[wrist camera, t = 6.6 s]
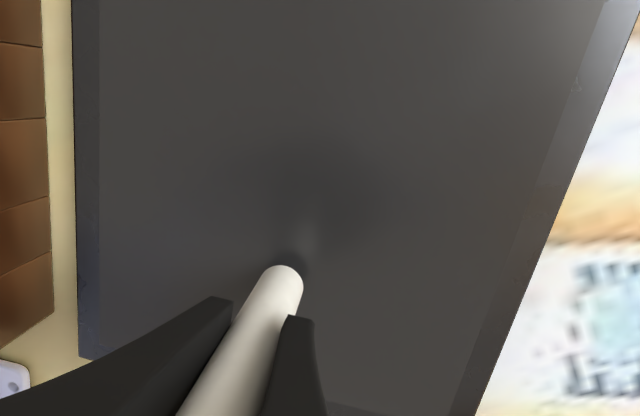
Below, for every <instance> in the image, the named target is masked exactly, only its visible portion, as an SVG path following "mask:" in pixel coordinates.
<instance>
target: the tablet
mask: <svg viewBox="0 0 640 416" xmlns="http://www.w3.org/2000/svg"><path fill="white" fill-rule="evenodd" d="M639 13H640V0H71V23H72V70H73V117H74V164H75V212H76V259H77V306H78V353H79V357H81V358H85V359H89V360H93V361H95V360H97V359H99V358H101V357H103V356H105V355H107V354H109V353H111V352H113V351H115V350H116V349H118V348H120V347H122V346H124V345H126V344H128V343H130V342H132V341H134V340H136V339H138V338H140V337H142V336H143V335H145V334H147V333H149V332H150V331H152V330H154V329H156V328H157V327H159V326H161V325H163V324H164V323H166V322H168V321H169V320H171V319H173V318H174V317H176V316H178V315H179V314H181V313H183V312H184V311H186V310H188V309H189V308H191V307H193V306H194V305H196V304H198V303H199V302H201V301H203V300H205V299H206V298H208V297H210V296H214V297H219V298H223V299H227V300H231V301H234V303H233V311H232V318H231V324H232V323H233V321H234V319H235V318H236V316H237V314H238V313H239V311H240V310H241V308H242V306H243V305H244V303H245V301H246V300H247V298H248V297H249V295H250V293H251V292H252V290H253V288H254V287H255V285H256V284H257V282H258V280H259V279H260V277H261V276H262V274H263V273H264V271H265V270H267V269H268V268H270V267H272V266H276V265H283V266H288V267H291V268H292V269H293V270H295V271H296V272H297V273H298V274H299V276H300V277H301V279H302V282H303V293H302V296H301V299H300V302H299V305H298V308H297V311H296V314H295V316H299V317H303V318H307V319H312V321H313V322H314V324H315V328H314V341H315V351H316V359H317V365H318V370H319V375H320V380H321V384H322V389H323V393H324V397H325V401H326V405H327V408H328V412H329V415H330V416H475V414H476V411H477V409H478V407H479V404H480V402H481V399H482V397H483V394H484V392H485V389H486V387H487V385H488V382H489V380H490V377H491V375H492V372H493V370H494V367H495V365H496V363H497V360H498V358H499V355H500V353H501V350H502V348H503V345H504V343H505V341H506V338H507V336H508V333H509V331H510V328H511V326H512V324H513V321H514V319H515V316H516V314H517V311H518V309H519V306H520V304H521V302H522V299H523V297H524V294H525V292H526V289H527V287H528V284H529V282H530V280H531V277H532V275H533V272H534V270H535V267H536V265H537V262H538V260H539V258H540V255H541V253H542V250H543V248H544V245H545V243H546V241H547V238H548V236H549V233H550V231H551V228H552V226H553V223H554V221H555V219H556V216H557V214H558V211H559V209H560V206H561V204H562V201H563V199H564V197H565V194H566V192H567V189H568V187H569V184H570V182H571V179H572V177H573V175H574V172H575V170H576V167H577V165H578V162H579V160H580V158H581V155H582V153H583V150H584V148H585V145H586V143H587V140H588V138H589V136H590V133H591V131H592V128H593V126H594V123H595V121H596V118H597V116H598V114H599V111H600V109H601V106H602V104H603V101H604V99H605V96H606V94H607V92H608V89H609V87H610V84H611V82H612V79H613V77H614V75H615V72H616V70H617V67H618V65H619V62H620V60H621V57H622V55H623V53H624V50H625V48H626V45H627V43H628V40H629V38H630V35H631V33H632V31H633V28H634V26H635V23H636V21H637V18H638V16H639Z"/></svg>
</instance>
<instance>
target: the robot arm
mask: <svg viewBox="0 0 640 416" xmlns="http://www.w3.org/2000/svg"><path fill="white" fill-rule="evenodd" d="M233 303H234V301H231V300H227V299H223V298H219V297H214V296H210V297H208V298H206V299H205V300H203V301H201V302H199V303H198V304H196V305H194V306H193V307H191V308H189V309H188V310H186V311H184V312H183V313H181V314H179V315H178V316H176V317H174V318H173V319H171V320H169V321H168V322H166V323H164V324H163V325H161V326H159V327H157V328H156V329H154V330H152V331H150V332H149V333H147V334H145V335H143V336H142V337H140V338H138V339H136V340H134V341H132V342H130V343H128V344H126V345H124V346H122V347H120V348H118V349H116V350H115V351H113V352H111V353H109V354H107V355H105V356H103V357H101V358H99V359H97V360H95V361H92V362H90V363H88V364H86V365H84V366H82V367H79V368H77V369H75V370H73V371H70V372H68V373H66V374H63V375H61V376H58V377H56V378H54V379H51V380H49V381H47V382H44V383H42V384H39V385H37V386H34V387H31V388H30V376H29V371H28V370H27V368H25V367H24V366H23V365H20V364H17V363H13V362H9V361H5V360H1V359H0V416H175V415H176V413H177V412H178V410H179V409H180V407H181V405H182V404H183V402H184V400H185V399H186V397H187V396H188V394H189V392H190V391H191V389H192V388H193V386H194V384H195V383H196V381H197V379H198V378H199V376H200V375H201V373H202V371H203V370H204V368H205V366H206V365H207V363H208V362H209V360H210V358H211V357H212V355H213V353H214V352H215V350H216V349H217V347H218V345H219V344H220V342H221V340H222V339H223V337H224V336H225V334H226V332H227V331H228V329H229V327H230V326H231V318H232V311H233ZM314 328H315V324H314V322H313V321H312V319H307V318H303V317H299V316H295V315H290V314H288V315H287V317H286V319H285V321H284V324H283V326H282V328H281V331H280V336H279V340H278V345H277V349H276V353H275V358H274V362H273V367H272V371H271V376H270V380H269V385H268V389H267V393H266V397H265V400H264V403H263V407H262V410H261V412H260V415H259V416H330V415H329V412H328V408H327V405H326V401H325V397H324V393H323V389H322V384H321V380H320V375H319V370H318V365H317V359H316V351H315V341H314Z"/></svg>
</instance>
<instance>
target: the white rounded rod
mask: <svg viewBox="0 0 640 416" xmlns="http://www.w3.org/2000/svg"><path fill="white" fill-rule="evenodd" d="M302 293H303V282H302V279H301V277H300V276H299V274H298V273H297V272H296V271H295V270H293V269H292V268H291V267H288V266H283V265H276V266H272V267H270V268H268V269H267V270H265V271H264V273H263V274H262V276H261V277H260V279H259V280H258V282H257V284H256V285H255V287H254V288H253V290H252V292H251V293H250V295H249V297H248V298H247V300H246V301H245V303H244V305H243V306H242V308H241V310H240V311H239V313H238V314H237V316H236V318H235V319H234V321H233V323H232V324H231V326H230V327H229V329H228V331H227V332H226V334H225V336H224V337H223V339H222V340H221V342H220V344H219V345H218V347H217V349H216V350H215V352H214V353H213V355H212V357H211V358H210V360H209V362H208V363H207V365H206V366H205V368H204V370H203V371H202V373H201V375H200V376H199V378H198V379H197V381H196V383H195V384H194V386H193V388H192V389H191V391H190V392H189V394H188V396H187V397H186V399H185V400H184V402H183V404H182V405H181V407H180V409H179V410H178V412H177V413H176V415H175V416H259V415H260V412H261V410H262V407H263V403H264V400H265V397H266V393H267V389H268V385H269V380H270V376H271V371H272V367H273V362H274V358H275V353H276V349H277V345H278V340H279V336H280V331H281V328H282V326H283V324H284V321H285V319H286V317H287V315H288V314H290V315H295V314H296V311H297V308H298V305H299V302H300V299H301V296H302Z"/></svg>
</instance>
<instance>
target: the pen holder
mask: <svg viewBox="0 0 640 416" xmlns="http://www.w3.org/2000/svg"><path fill="white" fill-rule="evenodd" d="M40 47H42V25H41V2H40V0H0V349H2V348H3V347H4V346H6V345H7V344H9V343H10V342H12V341H13V340H14V339H16V338H17V337H19V336H20V335H22V334H23V333H24V332H26V331H27V330H29V329H30V328H32V327H33V326H35V325H36V324H37V323H39V322H40V321H42V320H43V319H45V318H46V317H47V316H49V315H50V314H52V313H53V312H54V298H53V275H52V253H51V251H50V250H51V229H50V207H49V196H47V195H49V177H48V154H47V131H46V119H45V118H44V117H45V116H46V113H45V90H44V68H43V50H42V49H41V48H40Z"/></svg>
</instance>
